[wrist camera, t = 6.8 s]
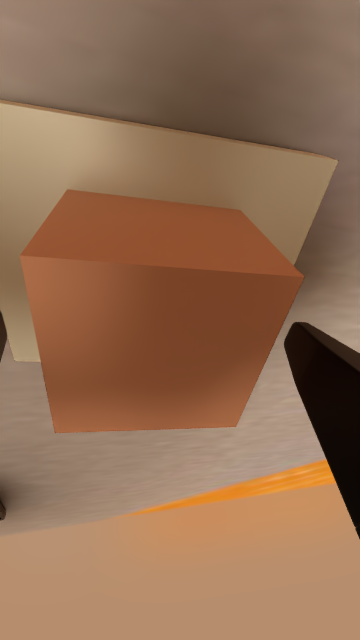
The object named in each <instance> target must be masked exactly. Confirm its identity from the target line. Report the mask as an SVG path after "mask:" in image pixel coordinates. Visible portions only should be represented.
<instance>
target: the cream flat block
mask: <svg viewBox="0 0 360 640" xmlns="http://www.w3.org/2000/svg"><path fill="white" fill-rule="evenodd" d="M338 161H339V160H335V159H332V158H329V157H326V156H322V155H319V154H315V153H309V152H303V151H298V150H292V149H286V148H280V147H274V146H268V145H263V144H257V143H251V142H245V141H239V140H233V139H228V138H222V137H216V136H210V135H204V134H199V133H193V132H187V131H181V130H175V129H169V128H164V127H158V126H152V125H146V124H140V123H134V122H129V121H123V120H117V119H111V118H105V117H99V116H94V115H88V114H82V113H76V112H70V111H64V110H59V109H53V108H47V107H41V106H35V105H29V104H24V103H18V102H12V101H6V100H0V310H1V313H2V315H3V319H4V323H5V326H6V330H7V336H8V340H9V343H10V347H11V351H12V354H13V358H14V361H35V362H41V360H40V355H39V350H38V345H37V340H36V335H35V330H34V325H33V320H32V315H31V310H30V305H29V300H28V295H27V290H26V285H25V280H24V275H23V270H22V265H21V260H20V254H21V253H22V252H23V250H24V249H25V247H26V246H27V245H28V243H29V242H30V240H31V239H32V238H33V236H34V235H35V233H36V232H37V231H38V229H39V228H40V227H41V225H42V224H43V222H44V221H45V220H46V218H47V217H48V215H49V214H50V213H51V211H52V210H53V208H54V207H55V206H56V204H57V203H58V201H59V200H60V199H61V197H62V196H63V195H64V193H65V192H66V190H67V189H69V190H78V191H86V192H94V193H103V194H111V195H119V196H128V197H136V198H144V199H153V200H161V201H169V202H178V203H186V204H194V205H203V206H211V207H219V208H228V209H236V210H241V211H242V212H243V213H244V214H245V215H246V216H247V217H248V218H249V220H250V221H251V222H252V223H253V224H254V225H255V226H256V227H257V228H258V229H259V230H260V231H261V232H262V233H263V234H264V235H265V236H266V237H267V238H268V239H269V240H270V241H271V243H272V244H273V245H274V246H275V247H276V248H277V249H278V250H279V251H280V252H281V253H282V254H283V255H284V256H285V257H286V258H287V259H288V260H289V261H290V262H291V263H292V265H293V266H294V264H295V262H296V260H297V257H298V255H299V253H300V250H301V248H302V246H303V243H304V241H305V239H306V236H307V234H308V231H309V229H310V227H311V224H312V222H313V220H314V217H315V215H316V213H317V210H318V208H319V206H320V203H321V201H322V198H323V196H324V194H325V191H326V189H327V187H328V184H329V182H330V180H331V177H332V175H333V173H334V170H335V168H336V165H337V163H338Z"/></svg>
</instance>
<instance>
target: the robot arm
mask: <svg viewBox="0 0 360 640" xmlns="http://www.w3.org/2000/svg"><path fill="white" fill-rule="evenodd" d="M6 341H7V330H6V326H5V323H4V319H3V315H2V313H1V311H0V361H1V358H2V354H3V351H4V348H5V344H6ZM284 348H285V351H286V354H287V358H288V361H289V365H290V368H291V371H292V375H293V378H294V381H295V384H296V387H297V390H298V392H299V395H300V397H301V399H302V402H303V404H304V407H305V409H306V411H307V414H308V416H309V419H310V421H311V423H312V426H313V428H314V431H315V433H316V435H317V438H318V440H319V442H320V445H321V447H322V450H323V452H324V454H325V457H326V459H327V462H328V464H329V466H330V469H331V471H332V474H333V476H334V478H335V481H336V483H337V486H338V488H339V490H340V493H341V495H342V498H343V500H344V502H345V504H346V507H347V510H348V512H349V514H350V517H351V519H352V522H353V524H354V526H355V527H356V531H357V534H358V536H359V539H360V353H358V352H356V351H355V350H353V349H351V348H349V347H348V346H346V345H344V344H343V343H341V342H339V341H338V340H336V339H334V338H332V337H331V336H329V335H327V334H326V333H324V332H322V331H321V330H319V329H317V328H315V327H314V326H312V325H310V324H309V323H306V322H294V323H293V324H292V326H291V328H290V330H289V332H288V334H287V336H286V338H285V341H284ZM5 515H6V512H5V510H4V508H3V506H2V504H1V503H0V520H4V519H5Z"/></svg>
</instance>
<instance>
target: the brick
mask: <svg viewBox="0 0 360 640" xmlns="http://www.w3.org/2000/svg"><path fill="white" fill-rule="evenodd" d="M20 260H21V265H22V270H23V275H24V280H25V285H26V290H27V295H28V300H29V305H30V310H31V315H32V320H33V325H34V330H35V335H36V340H37V345H38V350H39V355H40V360H41V365H42V371H43V376H44V381H45V386H46V391H47V396H48V401H49V406H50V411H51V416H52V421H53V426H54V431H55V433H71V432H100V431H130V430H160V429H189V428H219V427H236V425H237V423H238V421H239V419H240V417H241V415H242V412H243V410H244V408H245V406H246V404H247V401H248V399H249V397H250V395H251V393H252V391H253V388H254V386H255V384H256V382H257V380H258V377H259V375H260V373H261V371H262V369H263V367H264V364H265V362H266V360H267V358H268V356H269V354H270V351H271V349H272V347H273V345H274V343H275V340H276V338H277V336H278V334H279V332H280V330H281V327H282V325H283V323H284V321H285V319H286V316H287V314H288V312H289V310H290V308H291V306H292V303H293V301H294V299H295V297H296V295H297V292H298V290H299V288H300V286H301V284H302V282H303V279H304V276H303V275H302V274H301V273H300V272H299V271H298V270H297V269H296V268H295V267H294V266H293V265H292V263H291V262H290V261H289V260H288V259H287V258H286V257H285V256H284V255H283V254H282V253H281V252H280V251H279V250H278V249H277V248H276V247H275V246H274V245H273V244H272V243H271V241H270V240H269V239H268V238H267V237H266V236H265V235H264V234H263V233H262V232H261V231H260V230H259V229H258V228H257V227H256V226H255V225H254V224H253V223H252V222H251V221H250V220H249V218H248V217H247V216H246V215H245V214H244V213H243V212H242V211H241V210H236V209H228V208H219V207H211V206H203V205H194V204H186V203H178V202H169V201H161V200H153V199H144V198H136V197H128V196H119V195H111V194H103V193H94V192H86V191H78V190H69V189H67V190H66V192H65V193H64V195H63V196H62V197H61V199H60V200H59V201H58V203H57V204H56V206H55V207H54V208H53V210H52V211H51V213H50V214H49V215H48V217H47V218H46V220H45V221H44V222H43V224H42V225H41V227H40V228H39V229H38V231H37V232H36V233H35V235H34V236H33V238H32V239H31V240H30V242H29V243H28V245H27V246H26V247H25V249H24V250H23V252H22V253H21V254H20Z"/></svg>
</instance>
